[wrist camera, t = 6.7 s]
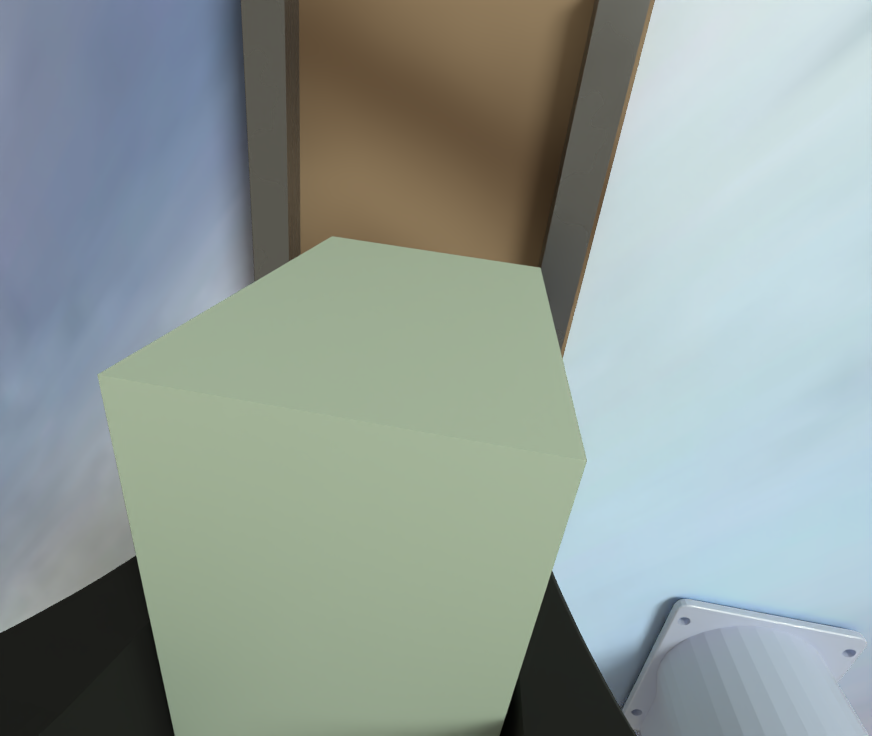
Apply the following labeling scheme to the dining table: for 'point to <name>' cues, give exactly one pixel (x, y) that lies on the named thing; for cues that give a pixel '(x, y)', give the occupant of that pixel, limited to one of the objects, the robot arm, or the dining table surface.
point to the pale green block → (349, 493)
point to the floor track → (438, 127)
